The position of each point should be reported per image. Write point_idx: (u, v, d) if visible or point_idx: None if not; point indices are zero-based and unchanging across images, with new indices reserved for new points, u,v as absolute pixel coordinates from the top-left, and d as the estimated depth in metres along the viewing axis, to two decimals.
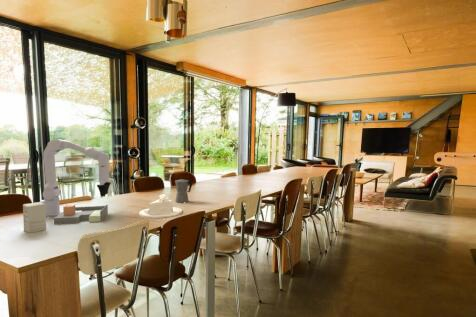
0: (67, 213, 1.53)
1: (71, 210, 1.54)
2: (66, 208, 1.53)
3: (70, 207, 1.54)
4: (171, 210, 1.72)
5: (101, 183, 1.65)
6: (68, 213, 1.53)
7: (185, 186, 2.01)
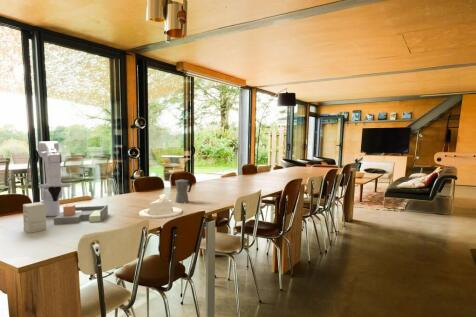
0: (67, 213, 1.53)
1: (71, 210, 1.54)
2: (66, 208, 1.53)
3: (70, 207, 1.54)
4: (171, 210, 1.72)
5: None
6: (68, 213, 1.53)
7: (185, 186, 2.01)
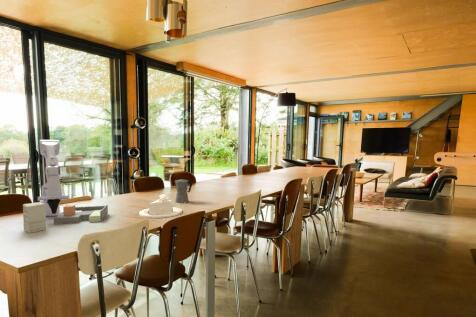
0: (67, 213, 1.53)
1: (71, 210, 1.54)
2: (66, 208, 1.53)
3: (70, 207, 1.54)
4: (171, 210, 1.72)
5: None
6: (68, 213, 1.53)
7: (185, 186, 2.01)
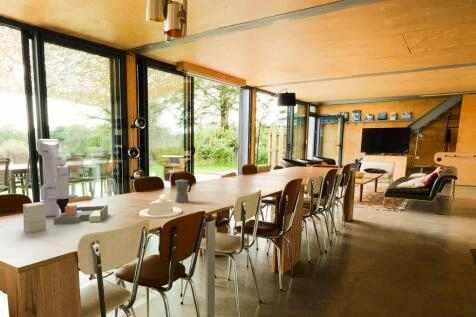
0: (69, 213, 1.54)
1: (73, 210, 1.54)
2: (68, 208, 1.53)
3: (72, 207, 1.54)
4: (171, 210, 1.72)
5: None
6: (70, 213, 1.54)
7: (185, 186, 2.01)
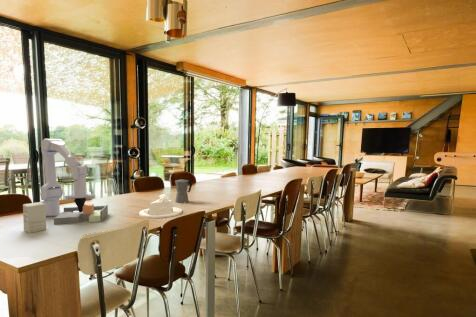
0: (86, 212, 1.56)
1: (90, 209, 1.56)
2: (85, 207, 1.55)
3: (89, 206, 1.56)
4: (171, 210, 1.72)
5: None
6: (87, 212, 1.56)
7: (185, 186, 2.01)
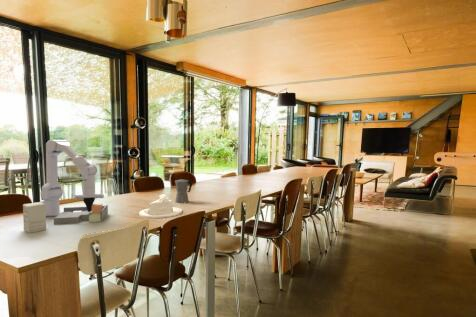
0: (95, 212, 1.57)
1: (99, 209, 1.57)
2: (94, 207, 1.57)
3: (98, 206, 1.57)
4: (171, 210, 1.72)
5: None
6: (96, 212, 1.57)
7: (185, 186, 2.01)
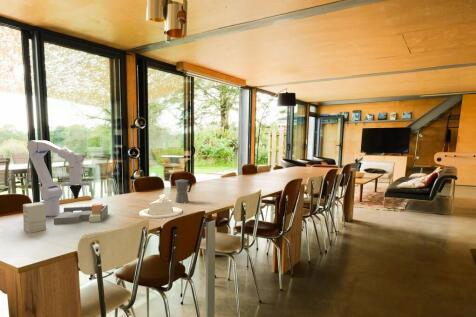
0: (95, 212, 1.57)
1: (99, 209, 1.57)
2: (94, 207, 1.57)
3: (98, 206, 1.57)
4: (171, 210, 1.72)
5: None
6: (96, 212, 1.57)
7: (185, 186, 2.01)
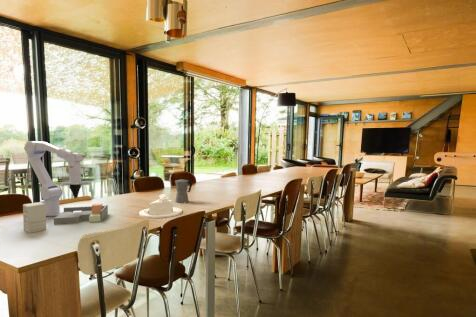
0: (95, 212, 1.57)
1: (99, 209, 1.57)
2: (94, 207, 1.57)
3: (98, 206, 1.57)
4: (171, 210, 1.72)
5: None
6: (96, 212, 1.57)
7: (185, 186, 2.01)
